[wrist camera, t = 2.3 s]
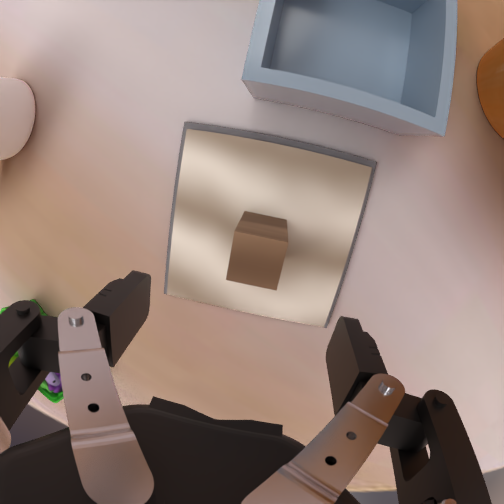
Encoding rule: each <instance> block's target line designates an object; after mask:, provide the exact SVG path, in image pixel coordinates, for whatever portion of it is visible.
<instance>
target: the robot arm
mask: <svg viewBox="0 0 504 504" xmlns="http://www.w3.org/2000/svg"><path fill="white" fill-rule="evenodd" d="M150 287H151V276H150V275H149V274H146V273H142V272H138V271H134V270H133V271H132V272H130V273H129V274H128V275H127V276H126V277H125V278H124V279H120V278H119V279H117V280H114V281H112V282H110V283H109V284H108V285H106V286H105V287H104V289H102V290H101V291H100V292H99V293H98V294H97V295H96V296H95V297H94V298H92V299H91V300H90V301H89V302H88V303H87V304H86V305H85V306H84V307H83V308H79V307H74V308H68V309H66V310H64V311H62V312H61V313H60V314H59V316H58V317H52V316H44V315H41V312H40V307H39V305H38V304H37V303H35V302H33V301H27V300H24V301H18V302H16V303H13V304H12V305H11V306H9V307H8V308H7V309H6V310H5V311H4V312H2V313H1V314H0V504H360V503H359V502H358V501H357V500H356V499H355V498H354V497H353V496H352V495H351V494H350V493H349V491H348V490H347V489H346V487H347V485H348V484H349V483H350V481H351V480H352V479H353V477H354V476H355V475H356V473H357V472H358V470H359V469H360V468H361V466H362V465H363V463H364V462H365V461H366V459H367V458H368V456H369V455H370V453H371V452H372V450H373V449H374V447H375V446H376V444H377V443H378V444H381V445H385V446H388V447H390V452H391V458H392V463H393V469H394V475H395V481H396V487H397V494H398V501H399V504H492V503H491V500H490V496H489V493H488V490H487V487H486V484H485V481H484V478H483V475H482V472H481V469H480V466H479V463H478V461H477V458H476V455H475V453H474V450H473V447H472V445H471V442H470V440H469V437H468V435H467V432H466V430H465V427H464V425H463V423H462V420H461V418H460V416H459V413H458V411H457V409H456V406H455V404H454V402H453V400H452V399H451V398H450V397H449V396H448V395H447V394H445V393H444V392H442V391H439V390H429V391H427V392H426V393H425V395H424V396H423V398H419V397H416V396H412V395H409V394H406V393H405V388H404V386H403V384H402V383H401V382H400V381H399V380H398V379H397V378H395V377H393V376H391V375H388V373H387V370H386V368H385V365H384V363H383V360H382V358H381V356H380V353H379V350H378V349H377V345H376V343H375V340H374V339H373V338H372V337H371V336H370V335H369V334H368V333H367V332H363V330H362V327H361V325H360V322H359V320H358V319H354V318H349V317H343V316H341V317H340V318H339V320H338V322H337V324H336V327H335V330H334V332H333V335H332V337H331V340H330V342H329V345H328V348H327V352H326V363H327V369H328V375H329V381H330V388H331V394H332V400H333V407H334V414H335V417H334V418H333V419H332V420H331V421H330V422H329V423H328V424H327V425H326V427H325V428H324V429H323V430H322V431H321V432H320V433H319V434H318V435H317V436H316V437H315V438H314V439H313V440H312V441H311V442H310V443H309V444H308V445H307V446H306V447H305V446H304V445H303V444H301V443H300V442H298V441H296V440H294V439H292V438H290V437H288V436H286V435H283V434H282V427H283V425H279V424H272V423H266V422H260V421H254V420H216V419H213V418H210V417H208V416H206V415H204V414H202V413H199V412H197V411H195V410H193V409H191V408H189V407H187V406H185V405H181V404H178V403H174V402H171V401H167V400H164V399H160V398H157V397H154V396H153V398H152V400H151V403H150V405H141V404H137V405H128V406H122V404H121V401H120V398H119V395H118V392H117V389H116V386H115V383H114V380H113V377H112V374H111V370H110V367H109V366H111V367H114V366H115V364H116V363H117V361H118V360H119V358H120V357H121V355H122V354H123V353H124V351H125V350H126V348H127V347H128V345H129V344H130V342H131V341H132V339H133V338H134V336H135V335H136V333H137V332H138V331H139V329H140V328H141V326H142V325H143V323H144V322H145V320H146V319H147V316H148V313H149V307H150ZM17 351H18V354H19V356H18V357H17V358H16V359H15V360H14V362H13V363H12V364H11V365H10V366H9V362H10V359H11V358H12V356H13V355H14V354H15V353H16V352H17ZM50 372H54V373H60V375H61V383H62V390H63V396H64V403H65V408H66V414H67V419H68V424H69V427H68V428H65V429H63V430H60V431H57V432H54V433H51V434H49V435H46V436H43V437H40V438H37V439H35V440H31V441H28V442H25V443H22V444H19V445H16V446H13V447H10V448H9V446H10V443H11V435H10V432H9V430H10V429H11V427H12V426H13V424H14V423H15V421H16V420H17V418H18V417H19V415H20V414H21V412H22V411H23V409H24V408H25V406H26V405H27V404H28V402H29V401H30V399H31V398H32V396H33V395H34V394H35V392H36V391H37V389H38V388H39V387H40V385H41V384H42V382H43V381H44V380H45V378H46V377H47V376H48V374H49V373H50ZM427 444H428V445H429V448H430V459H429V457H428V453H427V450H426V445H427Z"/></svg>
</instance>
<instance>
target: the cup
mask: <svg viewBox="0 0 504 504" xmlns="http://www.w3.org/2000/svg"><path fill="white" fill-rule="evenodd" d="M34 119H35V99H34V95H33V92H32V90H31V88H30V87H29V85H28V84H27V83H26V82H24V81H23V80H20V79H17V78H9V77H0V160H4V159H7V158H10V157H12V156H14V155H16V154H17V153H18V152H19V151H20V150H21V149H22V148H23V147H24V145H25V144H26V142H27V141H28V139H29V136H30V134H31V131H32V128H33V125H34Z"/></svg>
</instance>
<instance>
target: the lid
mask: <svg viewBox="0 0 504 504" xmlns="http://www.w3.org/2000/svg"><path fill="white" fill-rule="evenodd" d="M371 170H372V167H369V166H365V165H362V164H358V163H354V162H351V161H347V160H343V159H340V158H336V157H332V156H328V155H324V154H320V153H316V152H312V151H307V150H303V149H299V148H294V147H290V146H285V145H280V144H275V143H270V142H265V141H260V140H255V139H250V138H244V137H238V136H232V135H226V134H220V133H213V132H207V131H200V130H192V129H187V131H186V137H185V143H184V149H183V155H182V162H181V168H180V175H179V182H178V190H177V197H176V205H175V213H174V222H173V231H172V240H171V251H170V261H169V273H168V286H167V295H171V296H175V297H179V298H184V299H188V300H192V301H196V302H201V303H205V304H209V305H214V306H218V307H223V308H227V309H232V310H236V311H241V312H246V313H251V314H255V315H260V316H265V317H270V318H275V319H281V320H286V321H291V322H296V323H302V324H307V325H313V326H319V327H324V325H325V323H326V320H327V317H328V314H329V312H330V309H331V306H332V303H333V300H334V297H335V294H336V291H337V288H338V285H339V282H340V279H341V276H342V273H343V270H344V267H345V264H346V260H347V257H348V254H349V251H350V247H351V244H352V241H353V237H354V234H355V230H356V227H357V223H358V220H359V216H360V213H361V209H362V205H363V202H364V198H365V194H366V190H367V186H368V182H369V178H370V174H371Z"/></svg>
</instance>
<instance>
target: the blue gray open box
mask: <svg viewBox="0 0 504 504" xmlns="http://www.w3.org/2000/svg"><path fill="white" fill-rule="evenodd" d="M456 40H457V0H260V1H259V5H258V9H257V13H256V17H255V21H254V26H253V30H252V34H251V39H250V43H249V48H248V52H247V57H246V61H245V66H244V71H243V75H242V81H243V82H244V84H245V85H246V87H247V88H248V90H249V92H250V93H251V95H252V96H253V98H257V99H263V100H268V101H274V102H279V103H284V104H288V105H293V106H298V107H302V108H307V109H311V110H315V111H319V112H323V113H327V114H331V115H335V116H339V117H342V118H346V119H350V120H353V121H357V122H360V123H363V124H367V125H370V126H373V127H376V128H379V129H382V130H385V131H388V132H391V133H394V134H397V135H414V136H445V131H446V126H447V120H448V114H449V108H450V101H451V94H452V86H453V77H454V68H455V56H456Z"/></svg>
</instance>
